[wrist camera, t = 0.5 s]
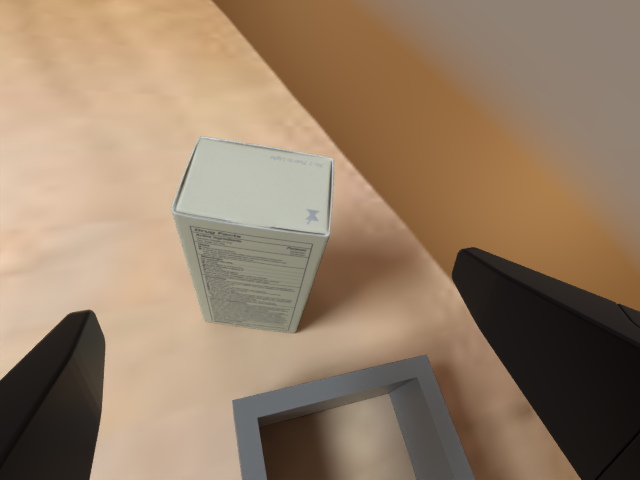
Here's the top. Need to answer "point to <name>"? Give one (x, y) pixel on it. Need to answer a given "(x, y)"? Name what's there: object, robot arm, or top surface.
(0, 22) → the top surface
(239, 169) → the skincare box
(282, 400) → the gray rectangular frame
